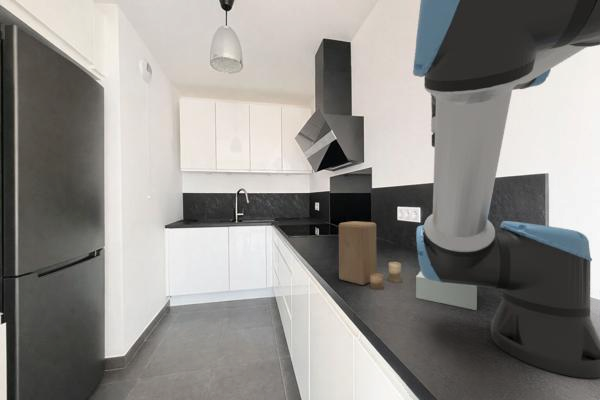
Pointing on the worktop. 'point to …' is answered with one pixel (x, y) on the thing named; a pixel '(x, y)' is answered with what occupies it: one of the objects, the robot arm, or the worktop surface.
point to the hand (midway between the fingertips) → (446, 205)
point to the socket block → (446, 292)
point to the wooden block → (357, 251)
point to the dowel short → (376, 281)
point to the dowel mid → (395, 272)
